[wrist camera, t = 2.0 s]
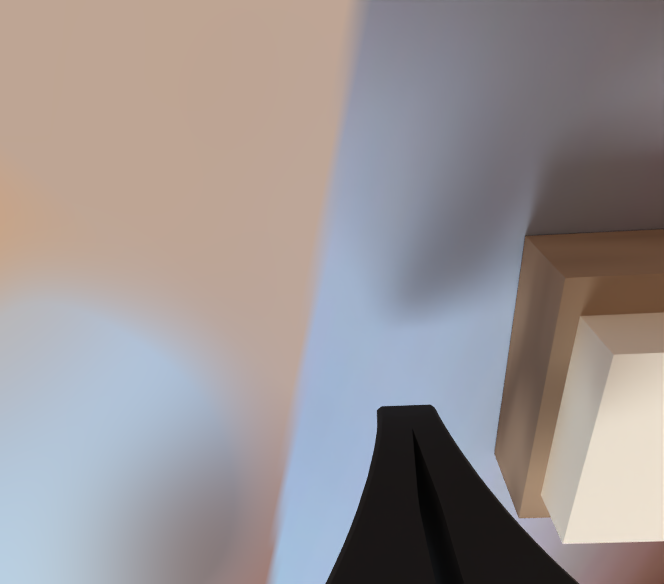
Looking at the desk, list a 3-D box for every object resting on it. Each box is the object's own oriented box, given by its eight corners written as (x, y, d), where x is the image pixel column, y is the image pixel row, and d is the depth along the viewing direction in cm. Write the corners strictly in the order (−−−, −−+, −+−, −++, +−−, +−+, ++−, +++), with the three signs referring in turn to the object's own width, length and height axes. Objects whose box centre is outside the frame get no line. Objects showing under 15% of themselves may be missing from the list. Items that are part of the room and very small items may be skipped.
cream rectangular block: (683, 490, 14) (720, 539, 12) (540, 495, 14) (562, 544, 12) (760, 308, 11) (820, 346, 9) (580, 316, 11) (613, 354, 10)
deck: (643, 448, 16) (690, 513, 14) (494, 453, 16) (518, 518, 14) (719, 226, 12) (801, 267, 10) (525, 236, 13) (565, 278, 10)
